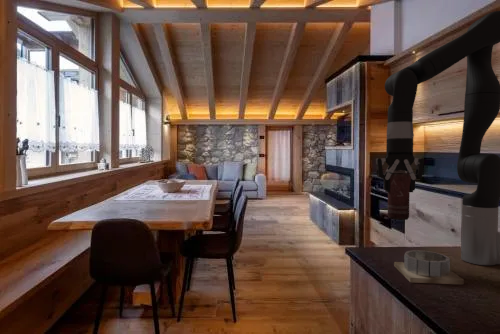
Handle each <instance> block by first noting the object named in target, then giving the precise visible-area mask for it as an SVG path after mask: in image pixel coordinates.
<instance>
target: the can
mask: <svg viewBox="0 0 500 334" xmlns="http://www.w3.org/2000/svg"><path fill="white" fill-rule="evenodd" d="M389 180H390V192H387V218H389V219H390V220H394V221H395V220H398V221H407V220H408V219H409V218H410V193H411V192H410V183H411V177H410V174H409V173H406V172H393V173H392V174H391V176H390V178H389Z"/></svg>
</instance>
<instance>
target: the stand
mask: <svg viewBox="0 0 500 334" xmlns="http://www.w3.org/2000/svg"><path fill="white" fill-rule="evenodd" d="M393 266H394V267H395V269H396V270H398V272H399V273H400V274H401V275H402V276H403V277H405V279H406V280H407V281H409V283H412V284H415V283H416V284H418V283H419V284H420V283H421V284H443V285H464V281H465V280H464V278H462V277H460V276H459V275H458V274H456V273H455V272H453V271H452V270H450V273H449V276H446V277H426V276H421V275H418V274H417V275H416V274H414V273H411V272H408V271H407V270H406V269H405V268H404V262H403V261H394V263H393Z"/></svg>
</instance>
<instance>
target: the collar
mask: <svg viewBox="0 0 500 334" xmlns="http://www.w3.org/2000/svg"><path fill="white" fill-rule="evenodd" d="M403 257H404V258H403V260H404V268H405V269H406V270H407V271H408V272H411V273H414V274H416V275H417V274H418V275H421V276H426V277H446V276H449V273H450V271H451V270H450V269H451V268H450V267H451V266H450V265H451V263H450V262H451V258H450V257H449V256H447V255H446V254H443V253H440V252H435V251H431V250H422V249H420V250H418V249H414V250H413V249H412V250H406V251H405V253H404V256H403Z"/></svg>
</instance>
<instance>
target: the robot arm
mask: <svg viewBox="0 0 500 334" xmlns="http://www.w3.org/2000/svg"><path fill="white" fill-rule="evenodd" d="M497 44H500V10H494V11H492V12H489V13H487V14H485V15H483V16H482V17H480V18H479V19H477V20H475V21H474V22H473V23H471V24H470V26H469V27H468V29H467V31H466V32H465V33H463V34H461V35H459V36H457V38H454V39H452V40H451V41H449V42H446V43H444V44H443V45H441V46H439V47H437V48H436V49H434V50H432V51H430V52H428V53H426V54H425V55H423V56H422V57H420V58H418V59H417V60H416V61H415V62H413V63H411V64H410V65H408V66H406V67H404V68H402V69H400V70H398V71H397V72H395V73H393V74H391V75H390V76H389V77H388V78H387V79H386V80H385V82H384V91H385V92H386V94H388V95H389V96H391V97H392V102H391V103H390V104H389V105H388V109H387V125H386V144H385V145H386V151H385V152H386V155H385V156H384V158H380V157H379V158H378V157H377V158H375V168H376V169H375V170H376V176H377V178H380V179H382V180H383V190H384V191H385V193H388V192H390V180H389V178H390V176H391V174H392V173H395V171H396V172H397V171H402V172H403V171H404V173H409V174H410V177H411V183H410V193H414V191H415V190H416V180H417V179H421V178H423V172H424V165H425V159H424V158H423V157H421V158H419V157H414V137H415V134H414V124H413V121H414V119H413V118H414V117H413V116H414V112H413V111H414V104H415V100H416V96H417V91H418V86H419V85H420V84H422V83H424V82H427V81H428V80H431V79H432V78H435V77H436V76H438V75H439V74H441V73H443V72H445V71H446V70H447V69H449V68H451V67H452V66H454V65H455V64H457V63H458V62H461V61H462V60H464V59H466V77H465V78H466V79H465V81H466V82H465V92H464V93H465V94H464V103H463V105H464V107H463V109H464V111H463V122H462V123H463V125H462V132H461V133H462V134H461V141H460V146H459V151H458V157H457V163H456V171H457V176H458V178H459V179H460V180H461V181H463V182H464V183H470V184H477V185H476V189H475V191H473V192H472V193H468V194H465V195H463V197H462V209H461V214H462V216H461V246H460V248H461V249H460V259H461V260H462V261H464V262H467V263H470V264H474V265H480V266H497V265H500V231H499V206H500V205H499V204H500V156H499V155H497V154H494V153H481V149H482V142H483V139H484V137H485V135H486V133H487V131H488V130H489V129H490V127H491V125H492V124H493V123H494V122H495V120H496V119H497V117H498V115H499V113H500V81H499V79H498V77H497V75H496V73H495V71H494V69H493V65H492V56H493V55H492V54H493V48H494V46H495V45H497ZM385 163H386V164H387V165H388V167H387V168H386V170H385V173H384V169H383V165H384V164H385ZM413 163H414V165H415V172H414V170H413V167H412V165H413Z"/></svg>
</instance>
